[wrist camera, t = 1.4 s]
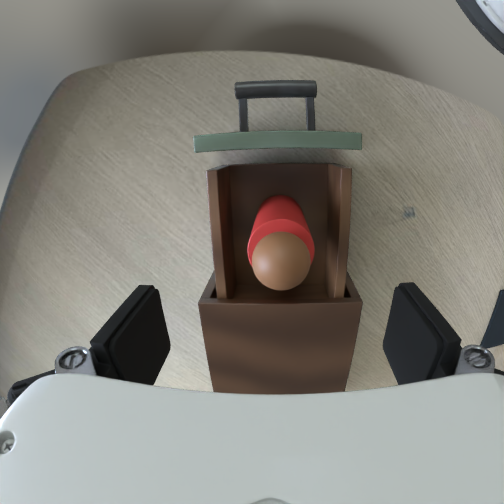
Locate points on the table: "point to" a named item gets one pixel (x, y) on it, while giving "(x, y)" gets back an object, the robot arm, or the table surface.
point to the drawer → (279, 183)
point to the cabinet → (279, 342)
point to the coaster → (495, 325)
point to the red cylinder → (280, 244)
